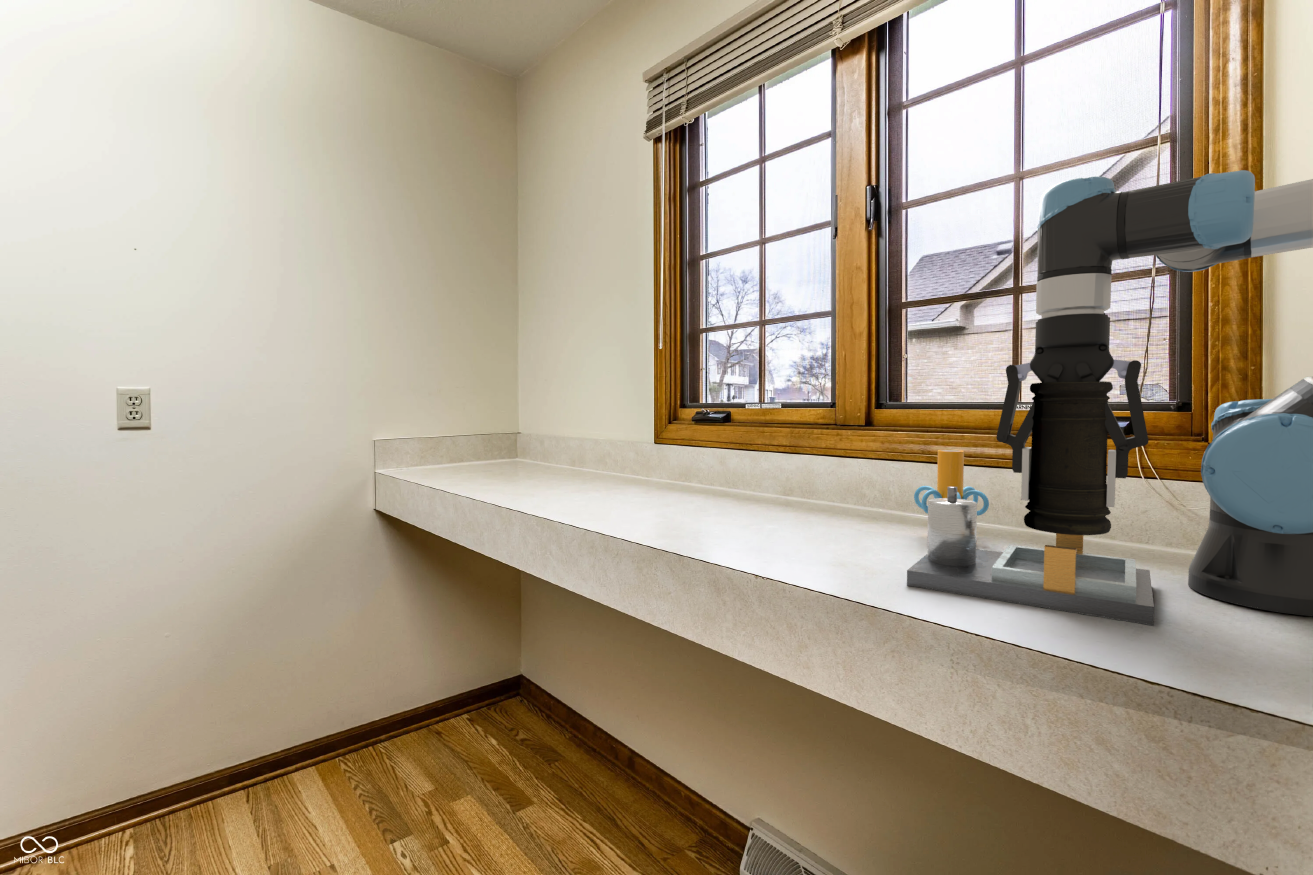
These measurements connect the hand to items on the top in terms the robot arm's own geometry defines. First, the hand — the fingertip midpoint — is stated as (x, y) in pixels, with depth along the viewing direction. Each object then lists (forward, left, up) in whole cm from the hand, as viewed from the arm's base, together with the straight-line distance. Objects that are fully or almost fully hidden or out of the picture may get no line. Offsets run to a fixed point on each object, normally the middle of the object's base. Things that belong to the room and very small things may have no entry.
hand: (1066, 501), depth 77 cm
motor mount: (+4, 0, -11) cm, 12 cm away
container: (0, 0, -3) cm, 3 cm away
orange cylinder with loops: (+18, -23, -11) cm, 31 cm away
